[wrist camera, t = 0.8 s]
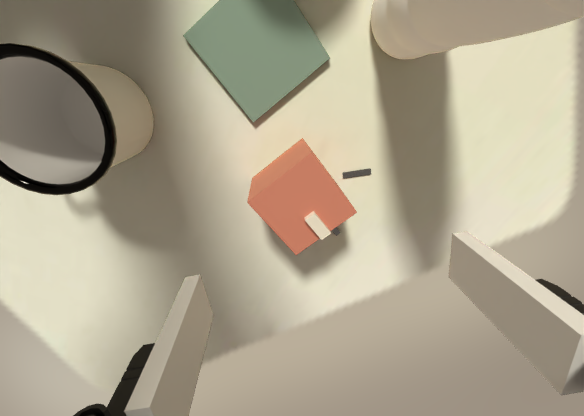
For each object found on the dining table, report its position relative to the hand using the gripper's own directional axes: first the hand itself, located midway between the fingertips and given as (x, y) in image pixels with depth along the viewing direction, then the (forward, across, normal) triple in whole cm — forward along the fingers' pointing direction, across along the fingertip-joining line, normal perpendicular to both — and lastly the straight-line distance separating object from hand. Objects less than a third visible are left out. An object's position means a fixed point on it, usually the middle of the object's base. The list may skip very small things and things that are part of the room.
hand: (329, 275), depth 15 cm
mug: (+17, -18, +9) cm, 26 cm away
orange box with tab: (+17, 0, 0) cm, 17 cm away
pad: (+17, -2, +13) cm, 21 cm away
